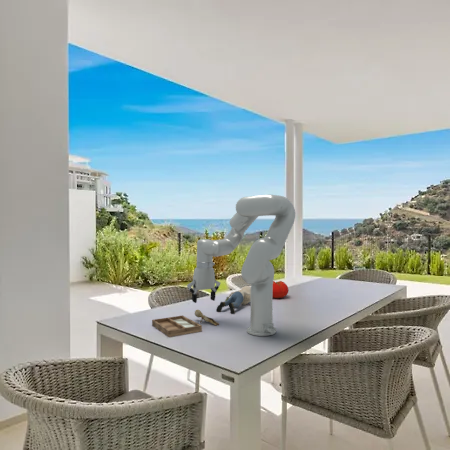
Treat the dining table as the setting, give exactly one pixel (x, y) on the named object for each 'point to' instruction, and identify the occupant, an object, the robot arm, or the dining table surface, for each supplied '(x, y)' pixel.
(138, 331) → the dining table surface
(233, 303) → the toy
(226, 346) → the dining table surface
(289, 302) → the dining table surface
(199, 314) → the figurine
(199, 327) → the wooden compartment tray
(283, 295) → the tomato
